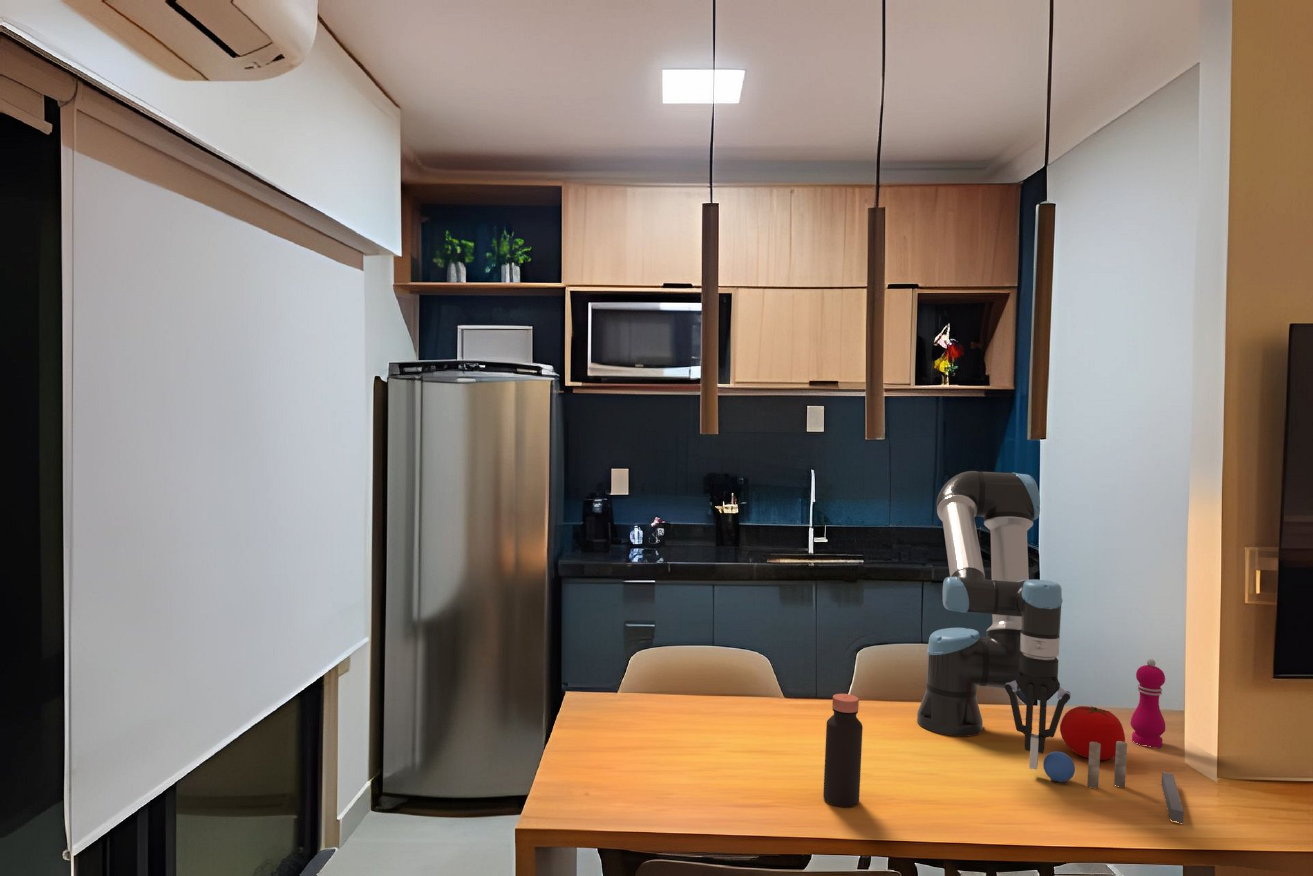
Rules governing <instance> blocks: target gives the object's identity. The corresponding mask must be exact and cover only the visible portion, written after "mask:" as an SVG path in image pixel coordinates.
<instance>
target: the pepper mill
mask: <svg viewBox="0 0 1313 876" xmlns="http://www.w3.org/2000/svg"><path fill="white" fill-rule="evenodd" d="M1156 665H1157V664H1156V661H1155V660H1154V659H1152V658H1150V659H1149V658H1148V659H1147V662H1146V664H1145V665H1141V666H1139V668H1138V669H1137V670H1136V672H1135V677H1136V680H1137V682H1138V683H1139V684H1137V691H1138V693H1139V700H1138V701H1139V702H1138V705H1137V707H1136V708H1135V709H1134V711H1133V713H1132V714H1131V718H1130V726H1131V728H1132V729H1133V731H1134V732H1132V735H1131V741H1132V742H1133V741H1134V742H1135V743H1138V744H1140V745H1147V746H1151V747H1160V748H1162V747H1163V738H1162V735H1163V734H1164V733H1165V732H1166V721H1165V718H1164V716H1163V714H1162V711H1161V709H1160V696H1161V695H1162V694H1163V688H1162V686H1163V685H1164V684H1165V682H1166V675H1165V673H1164V671H1163V669H1161V668H1159V667H1158V666H1156ZM1134 742H1133V743H1134ZM1135 743H1134V744H1135ZM1138 744H1137V745H1138ZM1140 745H1139V746H1140ZM1161 746H1162V747H1161Z"/></svg>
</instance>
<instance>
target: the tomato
mask: <svg viewBox="0 0 1313 876" xmlns="http://www.w3.org/2000/svg"><path fill="white" fill-rule="evenodd" d="M1060 721H1061V722H1060V724H1059V732H1060V735H1061V738H1062V740H1063V742H1064V743H1065V745H1066V746H1067V747H1068V748H1069V749H1070V750H1071V751H1073V752H1074V753H1076V755H1078V756H1081V757H1084V758H1086V759H1089V746H1090V742H1097V743H1100V744H1101V746H1100V761H1101V760H1102V761H1104V760H1111V759H1114V758H1115V757H1116V742H1117V741H1122V742H1125V743H1126V735H1125V731H1124V727H1123V724H1122V723H1121V721H1120V720H1119V718H1118V717H1117V716H1116V715H1115V714H1114V713H1113V712H1112V711H1109V710H1106V709H1103V708H1098V707H1094V706H1092V705H1090V706H1086V705H1085V706H1084V705H1081V706H1080V705H1079V706H1076V707H1073V708H1071V709H1069V710H1068V711H1067V712H1065V713H1064V715H1063V717H1062V718H1061V720H1060Z"/></svg>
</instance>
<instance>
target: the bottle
mask: <svg viewBox="0 0 1313 876" xmlns="http://www.w3.org/2000/svg"><path fill="white" fill-rule="evenodd" d="M859 701H860V700H859V697H857V696H856V695H852V694H850V693H849V694H848V693H836V694H834V695H832V706H831V707H832V711H833V714H832V715H831V716H830V717H829V718H828V719H827V720H826V730H825V731H826V732H825V746H824V747H825V748H824V749H825V750H824V751H825V752H824V753H825V754H824V770H823V771H824V773H823V790H822V791H823V793H822V794H823V795H822V796H823V800H824V801H825V802H826V803H827V804H829V805H831V806H834V807H838V808H853V807H855V806H857V805H858V804H859V803H860V795H861V794H860V791H861V788H860V787H861V769H862V748H863V747H862V745H863V729H864V728H863V724H862V722H861V721H860V720H859V718H858V717H857V715H858V713H859V708H860V707H859V704H860V703H859Z"/></svg>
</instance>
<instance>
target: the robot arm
mask: <svg viewBox="0 0 1313 876" xmlns="http://www.w3.org/2000/svg"><path fill="white" fill-rule="evenodd" d="M1038 488H1039V487H1038V484H1037V483H1036V480H1035V478H1034V477H1033V476H1031V475H1030V474H1027V473H1016V472H994V471H978V470H977V471H976V470H969V471H964V472H960V473H959V474H956V475H954V476H953V477H952V478H950V479H949V480H948V481H947V482H945V484H944V485H943V487H942V488H941V490H940V491H939V493H938V495H937V499H936V513H937V516H938V518H939V520H940V521H941V522H942V526H943V533H944V534H943V535H944V541H945V549H946V555H947V556H946V557H947V562H948V563H947V564H948V570H949V576H947V577H945V578H944V580H943V583H942V604H943V607H944V608H945V609H946V610H947V611H952V612H960V613H962V614H963V613H964V614H965V613H966V614H967V613H968V614H970V613H971V614H982V615H991V616H992V624H991V625H990V627H988V628H987V629H986V632H985V634H986V636H981V634H980V633H979V631H978V630H976V629H973V628H966V627H948V628H947V627H946V628H941V629H937V630H935V631H933V632H932V633H931V634H930V636H929V638H928V645H927V650H926V653H927V664H926V666H927V668H926V686H925V687H926V688H925V693H924V695H923V697H922V700H921V702H920V705H919V707H918V709H917V716H916V717H917V718H916V723H917V724H918V725H919V726H920V727H922V728H924V729H926V730H928V731H931V732H933V733H937V734H942V735H947V736H954V737H972V736H976V735H979V734H982V732H983V727H984V726H983V725H984V724H983V723H984V722H983V717H982V714H981V710H980V706H979V703H978V699H977V689H978V687H987V688H998V689H1005V692H1006V693H1007V694H1008V696H1009V700H1010V705H1011V712H1012V716H1013V720H1014V725H1015V730H1016V731H1017V732H1019V733H1022V734H1023V736H1024V750H1025V751H1026V752H1029V769H1030V770H1038V767H1039V766H1038V765H1039V754H1044V753H1045V745H1046V744H1045V743H1046V738H1054V737H1055V734H1056V732H1057V729H1058V727H1059V726H1058V725H1059V723H1060V721H1061V720H1060V719H1061V716H1062V713H1063V711H1064V707H1065V705H1066V704H1067V703H1068V702H1069V701H1070V699H1071V692H1070V691H1067V690H1065V689H1064V688H1062V687H1061V684H1060V681H1059V677H1058V676H1059V659H1058V658H1057V657H1059V656H1060V643H1061V642H1060V639H1061V638H1060V636H1061V635H1060V633H1061V620H1062V618H1061V617H1062V604H1063V597H1062V596H1063V595H1062V585H1060V584H1059V583H1057V582H1054V581H1052V580H1045V579H1029V577H1030V576H1029V556H1028V555H1029V553H1028V531H1029V530H1030V529H1031V528H1032V527H1033V526H1034V521H1035V520H1037V519H1038V518H1039V517H1040V513H1041V497H1040V492H1039V491H1040V490H1039V489H1038ZM975 517H980V518H981V517H982V518H983V525H984V526H985V527H986V528H987V529H988V530H990V531H989V532H990V560H991V568H990V569H991V579H986V574H985V569H984V565H983V564H984V562H983V558H982V553H981V546H980V541H979V537H978V531H977V526H976V521H975V520H976V519H975ZM1017 691H1021V692H1022V694H1023V695H1024V696H1025V698H1026V707H1025V725H1024V724H1023V720H1022V719H1023V718H1022V715H1021V710H1020V705H1019V700H1018V695H1017ZM1056 693H1057V699H1058V700H1057V703H1056V706H1055V710H1054V712H1053V715H1052V718H1051V721H1050V724H1049V728H1048V729H1046V724H1047V708H1048V707H1047V704H1048V703H1047V702H1048V701H1049V700H1050V699H1051V698H1052V697H1053V696H1054V695H1055V694H1056ZM1035 700H1037V701H1039V714H1038V715H1039V719H1038V734H1036V733H1033V719H1034V717H1033V716H1034V701H1035Z"/></svg>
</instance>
